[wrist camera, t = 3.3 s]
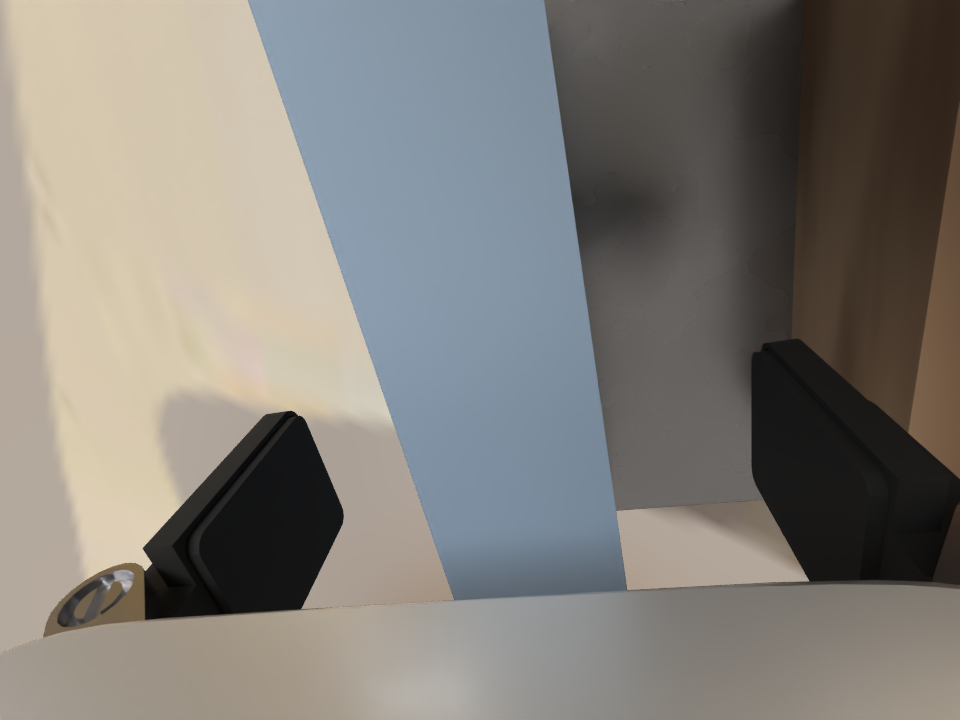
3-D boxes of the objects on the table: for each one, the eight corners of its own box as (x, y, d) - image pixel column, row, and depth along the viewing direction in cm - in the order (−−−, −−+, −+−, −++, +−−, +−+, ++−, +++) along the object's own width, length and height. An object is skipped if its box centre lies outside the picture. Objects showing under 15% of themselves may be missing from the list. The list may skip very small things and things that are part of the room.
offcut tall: (997, -61, 12) (1370, -198, 6) (915, 442, 17) (1073, 591, 12) (804, -10, 13) (989, -93, 7) (787, 454, 18) (882, 598, 13)
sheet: (543, 14, 13) (513, -221, 4) (611, 491, 20) (665, 860, 10) (451, 40, 14) (211, -105, 4) (547, 496, 21) (541, 852, 11)
